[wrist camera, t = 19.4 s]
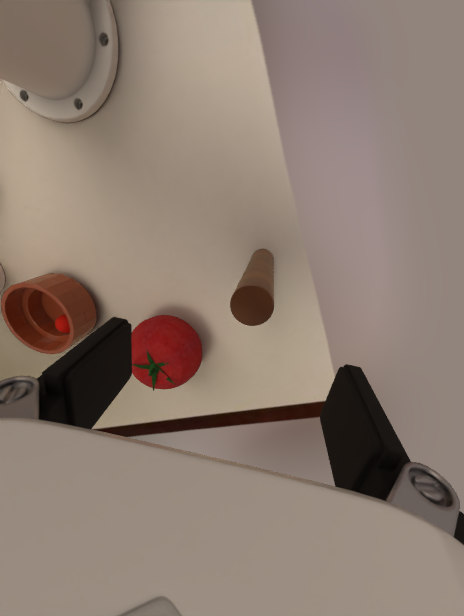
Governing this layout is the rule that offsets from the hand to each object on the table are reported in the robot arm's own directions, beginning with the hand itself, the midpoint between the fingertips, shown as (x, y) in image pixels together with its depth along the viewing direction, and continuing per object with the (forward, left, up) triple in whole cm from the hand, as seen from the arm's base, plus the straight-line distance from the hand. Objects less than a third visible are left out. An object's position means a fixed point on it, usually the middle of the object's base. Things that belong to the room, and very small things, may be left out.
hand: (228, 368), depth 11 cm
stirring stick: (-1, 0, -19) cm, 19 cm away
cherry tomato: (+21, -14, -17) cm, 30 cm away
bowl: (+20, -15, -19) cm, 32 cm away
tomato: (+14, -2, -19) cm, 23 cm away
